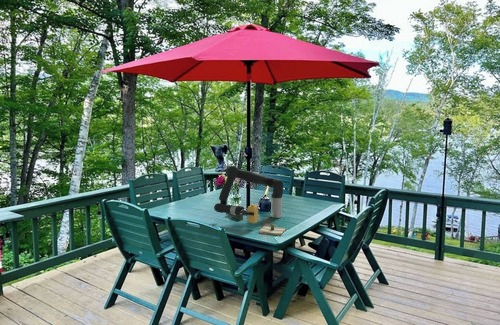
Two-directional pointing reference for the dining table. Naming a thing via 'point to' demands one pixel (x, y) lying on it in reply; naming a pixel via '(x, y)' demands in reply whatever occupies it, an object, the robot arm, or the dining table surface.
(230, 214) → the handheld radio
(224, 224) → the dining table surface
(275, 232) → the beige board with knob
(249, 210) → the tall orange toy brick
